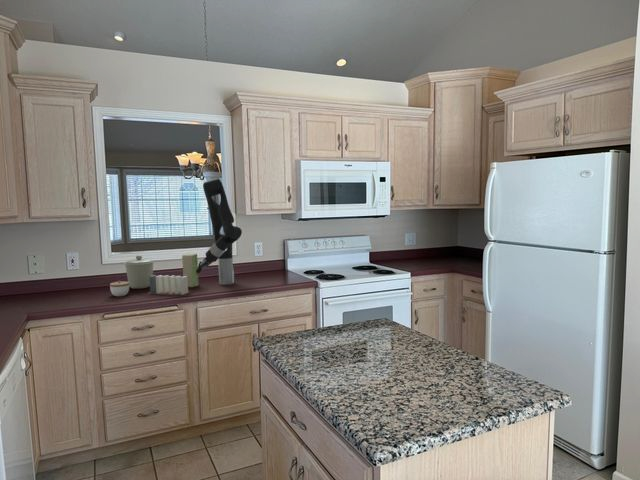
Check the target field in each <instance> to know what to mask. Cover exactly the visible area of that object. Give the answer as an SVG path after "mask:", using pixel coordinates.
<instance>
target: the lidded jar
mask: <svg viewBox="0 0 640 480" xmlns="http://www.w3.org/2000/svg"><path fill="white" fill-rule="evenodd" d="M109 289H110V292H111V294H112V295H113V296H115V297H123V296H127V294H129V291H130V286H129V282H128V280H127V281H121V280H120V279H119V280H118V281H115V282H111V283H110V284H109Z"/></svg>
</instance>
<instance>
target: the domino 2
mask: <svg viewBox="0 0 640 480" xmlns="http://www.w3.org/2000/svg"><path fill="white" fill-rule="evenodd" d="M163 276H164V275H163V274H160V275H157V276H156V292H157V293H160V292H163V291H162V277H163Z"/></svg>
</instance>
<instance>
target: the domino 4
mask: <svg viewBox="0 0 640 480" xmlns="http://www.w3.org/2000/svg"><path fill="white" fill-rule="evenodd" d="M174 277H176V275H171V276H170V275H169V277H168V289H169V294H172V293H174V292H175V286H174Z"/></svg>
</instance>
